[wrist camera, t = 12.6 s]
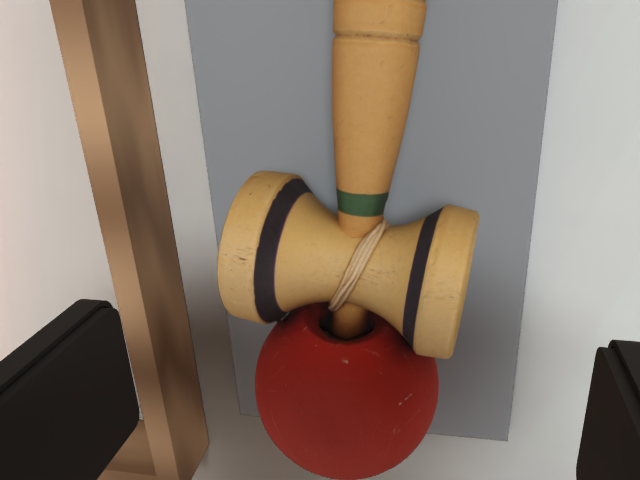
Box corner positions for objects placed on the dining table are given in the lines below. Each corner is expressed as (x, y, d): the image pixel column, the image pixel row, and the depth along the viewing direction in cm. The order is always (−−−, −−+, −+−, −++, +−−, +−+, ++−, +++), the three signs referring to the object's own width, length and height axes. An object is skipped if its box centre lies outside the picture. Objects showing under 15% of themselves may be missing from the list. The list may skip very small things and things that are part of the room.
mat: (505, 430, 22) (507, 441, 22) (244, 405, 24) (240, 414, 24) (573, -175, 14) (578, -181, 14) (174, -134, 16) (166, -137, 16)
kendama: (245, -119, 17) (236, 401, 22) (201, -226, 11) (203, 526, 16) (500, -102, 17) (431, 411, 22) (599, -199, 11) (471, 540, 16)
